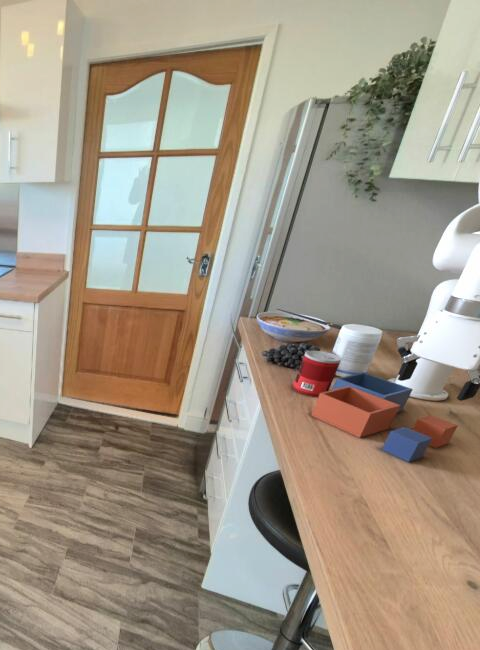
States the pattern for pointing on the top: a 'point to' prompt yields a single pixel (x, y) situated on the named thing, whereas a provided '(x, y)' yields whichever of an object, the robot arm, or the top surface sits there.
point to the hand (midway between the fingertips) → (431, 388)
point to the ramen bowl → (293, 326)
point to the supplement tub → (356, 348)
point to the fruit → (289, 354)
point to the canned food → (316, 372)
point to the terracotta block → (435, 429)
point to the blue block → (406, 444)
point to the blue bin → (376, 387)
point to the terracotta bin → (355, 411)
